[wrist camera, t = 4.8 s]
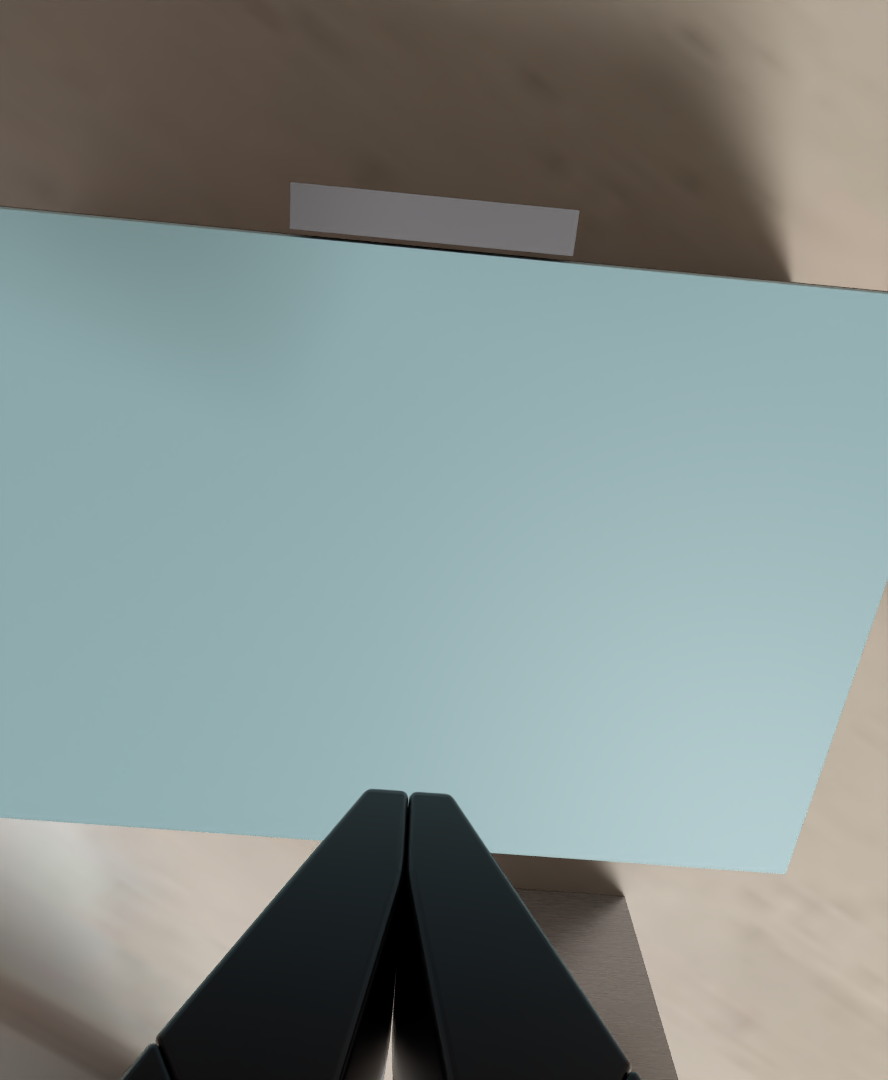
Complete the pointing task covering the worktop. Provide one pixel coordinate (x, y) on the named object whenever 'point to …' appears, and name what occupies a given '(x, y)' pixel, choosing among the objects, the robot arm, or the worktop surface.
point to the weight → (607, 970)
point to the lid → (429, 530)
